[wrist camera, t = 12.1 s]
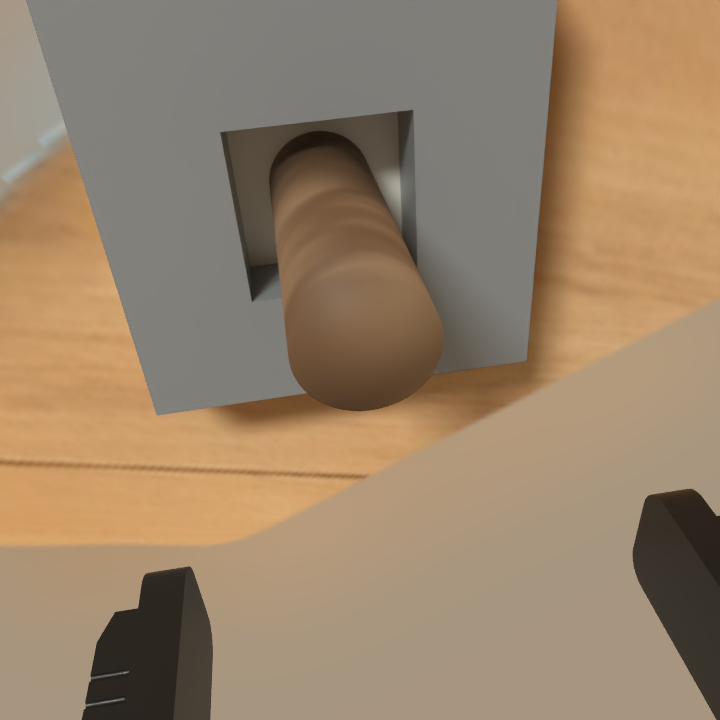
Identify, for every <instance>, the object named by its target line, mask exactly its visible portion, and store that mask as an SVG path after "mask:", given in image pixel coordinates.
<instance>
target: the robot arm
mask: <svg viewBox="0 0 720 720" xmlns="http://www.w3.org/2000/svg"><path fill="white" fill-rule="evenodd" d="M633 563H634V569H635V572H636V575H637V578H638V581H639V583H640V585H641V587H642V589H643V590H644V592H645V594H646V596H647V598H648V599H649V601H650V603H651V605H652V606H653V608H654V610H655V612H656V613H657V615H658V617H659V619H660V620H661V622H662V624H663V626H664V628H665V629H666V631H667V633H668V635H669V636H670V638H671V640H672V641H673V643H674V645H675V647H676V649H677V650H678V652H679V654H680V656H681V657H682V659H683V661H684V663H685V665H686V666H687V668H688V670H689V672H690V674H691V675H692V677H693V679H694V681H695V682H696V684H697V686H698V688H699V689H700V691H701V693H702V695H703V696H704V698H705V700H706V702H707V704H708V705H709V707H710V709H711V711H712V712H713V714H714V716H715V718H716V719H717V720H720V516H716V515H715V514H714V512H713V511H712V510H711V508H710V507H709V506H708V504H707V503H706V502H705V500H704V499H703V497H702V496H701V495H700V494H699V493H697V492H696V491H695V490H693V489H685V490H678V491H672V492H666V493H659V494H654V495H649V496H648V497H647V498H646V499H645V502H644V506H643V510H642V514H641V518H640V522H639V527H638V531H637V535H636V540H635V543H634V547H633ZM212 659H213V646H212V633H211V626H210V621H209V618H208V615H207V611H206V608H205V605H204V602H203V599H202V597H201V593H200V590H199V587H198V584H197V581H196V578H195V575H194V573H193V570H192V568H191V567H183V568H177V569H170V570H164V571H158V572H152V573H147V574H145V576H144V578H143V581H142V586H141V594H140V600H139V607H138V609H132V610H126V611H119V612H115V613H114V615H113V617H112V618H111V620H110V622H109V623H108V625H107V627H106V628H105V630H104V632H103V633H102V635H101V637H100V638H99V640H98V642H97V645H96V650H95V656H94V660H93V666H92V671H91V682H89V686H88V692H87V697H86V702H85V703H86V709H85V710H84V712H83V717H82V720H210V710H211V685H212Z"/></svg>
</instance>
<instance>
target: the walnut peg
mask: <svg viewBox="0 0 720 720" xmlns="http://www.w3.org/2000/svg"><path fill="white" fill-rule="evenodd" d="M269 186H270V195H271V204H272V213H273V222H274V232H275V241H276V250H277V259H278V268H279V277H280V286H281V295H282V304H283V313H284V322H285V331H286V340H287V349H288V359H289V364H290V368H291V371H292V373H293V375H294V377H295V379H296V380H297V382H298V384H299V385H300V386H301V387H302V388H303V390H304V391H305V392H307V393H308V394H309V395H310V396H311V397H313V398H314V399H316V400H317V401H319V402H321V403H323V404H325V405H328V406H331V407H334V408H338V409H342V410H350V411H366V410H374V409H379V408H383V407H386V406H390V405H392V404H395V403H397V402H399V401H401V400H403V399H405V398H407V397H408V396H410V395H411V394H413V393H414V392H415V391H417V390H418V389H419V388H420V387H421V386H422V385H423V384H424V383H425V382H426V381H427V380H428V379H429V378H430V376H431V375H432V373H433V372H434V370H435V369H436V367H437V365H438V363H439V360H440V358H441V355H442V351H443V346H444V331H443V326H442V322H441V319H440V317H439V314H438V312H437V310H436V308H435V306H434V304H433V302H432V299H431V297H430V295H429V293H428V291H427V289H426V287H425V285H424V282H423V280H422V278H421V276H420V274H419V272H418V270H417V267H416V265H415V263H414V261H413V259H412V257H411V255H410V253H409V250H408V248H407V246H406V244H405V242H404V240H403V238H402V236H401V233H400V231H399V229H398V227H397V225H396V223H395V221H394V218H393V216H392V214H391V212H390V210H389V208H388V206H387V204H386V201H385V199H384V197H383V195H382V193H381V191H380V189H379V187H378V184H377V182H376V180H375V178H374V176H373V174H372V172H371V169H370V167H369V165H368V163H367V161H366V159H365V157H364V155H363V153H362V152H361V151H360V149H359V148H358V147H357V146H356V145H355V144H354V143H353V142H352V141H350V140H349V139H347V138H346V137H344V136H342V135H339V134H337V133H333V132H329V131H313V132H308V133H304V134H301V135H299V136H297V137H295V138H294V139H292V140H290V141H289V142H288V143H287V144H286V145H284V146H283V148H282V149H281V150H280V151H279V152H278V154H277V155H276V157H275V159H274V161H273V163H272V166H271V170H270V175H269Z"/></svg>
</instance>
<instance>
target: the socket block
mask: <svg viewBox="0 0 720 720" xmlns="http://www.w3.org/2000/svg"><path fill="white" fill-rule="evenodd" d="M26 1H27V5H28V8H29V11H30V14H31V17H32V21H33V24H34V27H35V30H36V33H37V37H38V40H39V43H40V46H41V49H42V52H43V56H44V59H45V62H46V65H47V68H48V71H49V74H50V78H51V81H52V84H53V87H54V90H55V93H56V97H57V100H58V103H59V106H60V110H61V113H62V116H63V119H64V122H65V125H66V129H67V132H68V135H69V138H70V141H71V144H72V148H73V151H74V154H75V157H76V160H77V163H78V167H79V170H80V173H81V176H82V179H83V183H84V186H85V189H86V192H87V195H88V198H89V202H90V205H91V208H92V211H93V214H94V217H95V221H96V224H97V227H98V230H99V233H100V236H101V240H102V243H103V246H104V249H105V252H106V256H107V259H108V262H109V265H110V268H111V271H112V275H113V278H114V281H115V284H116V287H117V290H118V294H119V297H120V300H121V303H122V306H123V309H124V313H125V316H126V319H127V322H128V325H129V329H130V332H131V335H132V338H133V341H134V344H135V348H136V351H137V354H138V357H139V360H140V363H141V367H142V370H143V373H144V376H145V379H146V382H147V386H148V389H149V392H150V395H151V398H152V402H153V405H154V408H155V411H156V414H157V415H163V414H170V413H177V412H183V411H190V410H197V409H204V408H211V407H217V406H224V405H231V404H238V403H245V402H251V401H258V400H265V399H272V398H279V397H285V396H292V395H299V394H306V393H307V392H305V391H304V390H303V388H302V387H301V386H300V385H299V384H298V382H297V380H296V379H295V377H294V375H293V373H292V371H291V368H290V364H289V359H288V349H287V340H286V331H285V322H284V313H283V304H282V295H281V286H280V277H279V268H278V259H277V250H276V241H275V232H274V222H273V213H272V204H271V195H270V186H269V175H270V170H271V166H272V163H273V161H274V159H275V157H276V155H277V154H278V152H279V151H280V150H281V149H282V148H283V146H284V145H286V144H287V143H288V142H289V141H290V140H292V139H294V138H295V137H297V136H299V135H301V134H304V133H308V132H313V131H329V132H333V133H337V134H339V135H342V136H344V137H346V138H347V139H349V140H350V141H352V142H353V143H354V144H355V145H356V146H357V147H358V148H359V149H360V151H361V152H362V153H363V155H364V157H365V159H366V161H367V163H368V165H369V167H370V169H371V172H372V174H373V176H374V178H375V180H376V182H377V184H378V187H379V189H380V191H381V193H382V195H383V197H384V199H385V201H386V204H387V206H388V208H389V210H390V212H391V214H392V216H393V218H394V221H395V223H396V225H397V227H398V229H399V231H400V233H401V236H402V238H403V240H404V242H405V244H406V246H407V248H408V250H409V253H410V255H411V257H412V259H413V261H414V263H415V265H416V267H417V270H418V272H419V274H420V276H421V278H422V280H423V282H424V285H425V287H426V289H427V291H428V293H429V295H430V297H431V299H432V302H433V304H434V306H435V308H436V310H437V312H438V314H439V317H440V319H441V322H442V326H443V331H444V346H443V351H442V355H441V358H440V360H439V363H438V365H437V367H436V369H435V370H434V372H433V373H432V375H435V374H442V373H449V372H455V371H462V370H469V369H476V368H483V367H489V366H496V365H503V364H510V363H517V362H523V361H527V352H528V340H529V328H530V316H531V305H532V293H533V281H534V270H535V258H536V246H537V235H538V223H539V211H540V200H541V188H542V176H543V165H544V153H545V141H546V129H547V118H548V106H549V94H550V83H551V71H552V59H553V48H554V36H555V24H556V13H557V1H558V0H26Z"/></svg>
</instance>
